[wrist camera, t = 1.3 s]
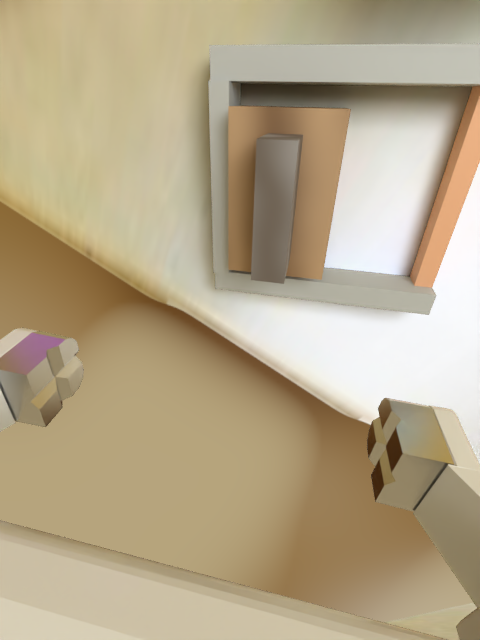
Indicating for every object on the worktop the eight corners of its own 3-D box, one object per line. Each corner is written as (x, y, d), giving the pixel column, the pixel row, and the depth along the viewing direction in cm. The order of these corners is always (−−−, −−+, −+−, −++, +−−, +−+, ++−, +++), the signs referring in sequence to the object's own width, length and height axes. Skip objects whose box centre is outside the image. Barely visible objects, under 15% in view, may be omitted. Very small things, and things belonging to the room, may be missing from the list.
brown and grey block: (346, 108, 26) (355, 110, 17) (322, 253, 33) (320, 306, 24) (246, 105, 27) (209, 106, 19) (242, 245, 34) (214, 293, 25)
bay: (508, 50, 22) (539, 41, 19) (419, 296, 33) (430, 317, 30) (222, 51, 26) (207, 44, 23) (224, 274, 36) (214, 291, 33)
